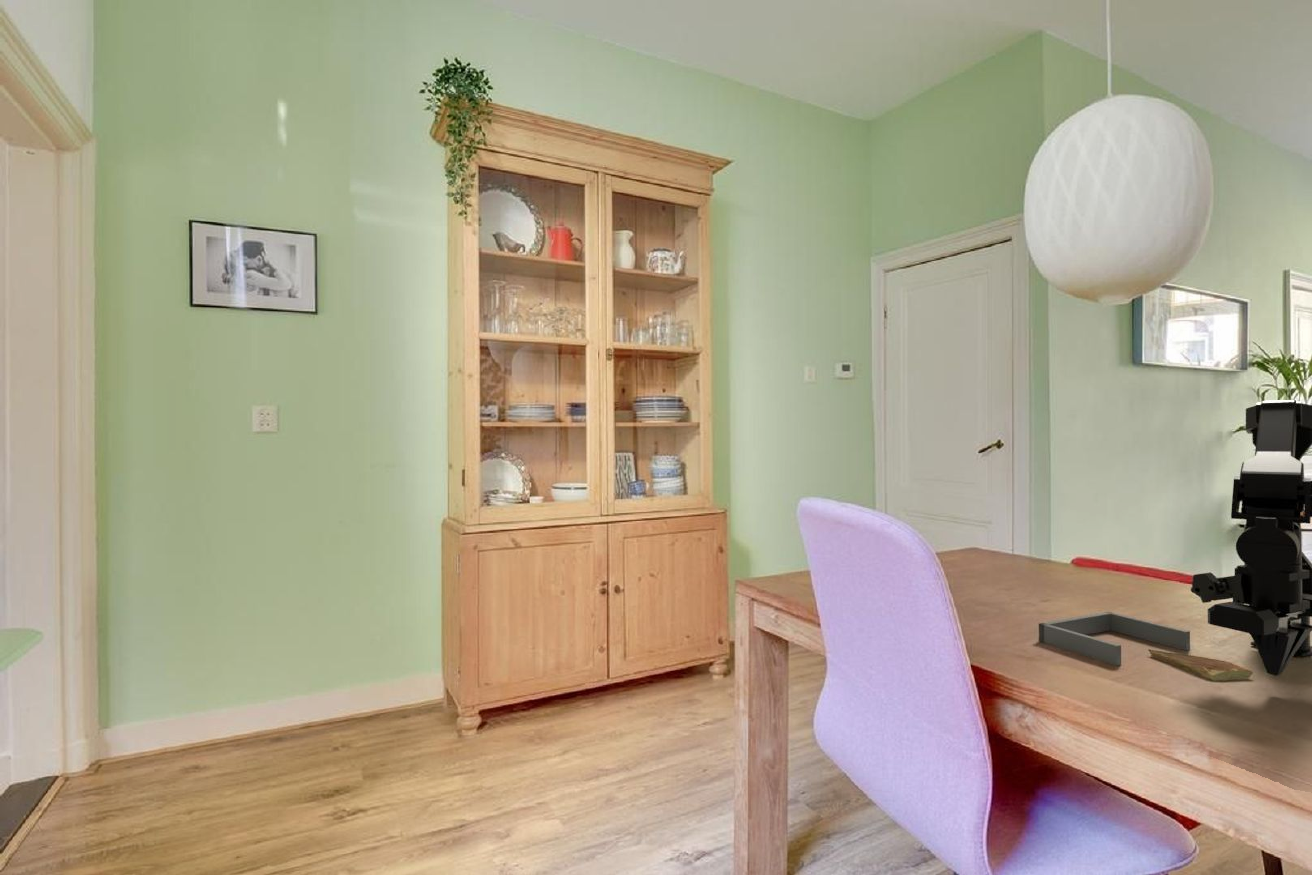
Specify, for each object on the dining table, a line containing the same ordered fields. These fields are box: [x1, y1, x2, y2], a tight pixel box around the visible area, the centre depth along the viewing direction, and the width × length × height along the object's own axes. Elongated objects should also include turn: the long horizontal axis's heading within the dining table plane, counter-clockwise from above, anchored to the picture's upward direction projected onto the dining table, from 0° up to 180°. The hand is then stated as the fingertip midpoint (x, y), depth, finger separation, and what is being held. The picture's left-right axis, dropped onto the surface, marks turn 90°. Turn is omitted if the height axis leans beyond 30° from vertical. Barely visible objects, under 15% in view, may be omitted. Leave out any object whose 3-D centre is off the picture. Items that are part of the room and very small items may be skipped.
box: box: [1038, 611, 1191, 666], centre depth 108 cm, size 18×13×3 cm
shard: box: [1147, 648, 1254, 682], centre depth 98 cm, size 11×8×2 cm
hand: (1273, 674), depth 88 cm, fingers closed
